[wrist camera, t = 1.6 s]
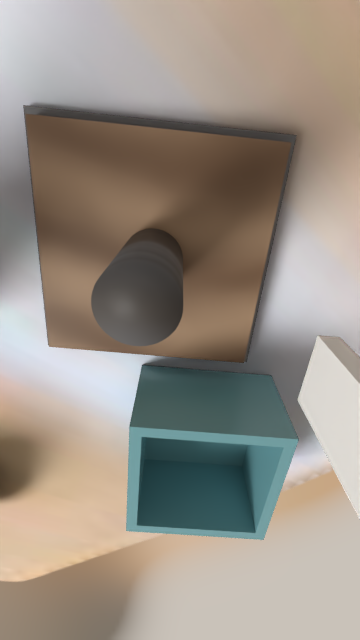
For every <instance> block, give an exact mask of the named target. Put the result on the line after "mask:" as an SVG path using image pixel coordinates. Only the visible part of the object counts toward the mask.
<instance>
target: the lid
mask: <svg viewBox="0 0 360 640" xmlns="http://www.w3.org/2000/svg"><path fill="white" fill-rule="evenodd" d="M25 115H26V125H27V135H28V144H29V154H30V164H31V174H32V184H33V193H34V203H35V213H36V223H37V233H38V242H39V252H40V262H41V272H42V281H43V291H44V301H45V311H46V321H47V330H48V340H49V347H59V348H71V349H83V350H95V351H107V352H119V353H131V354H143V355H155V356H167V357H179V358H191V359H203V360H215V361H227V362H239V363H244V359H245V355H246V350H247V346H248V341H249V336H250V332H251V327H252V323H253V318H254V313H255V309H256V304H257V299H258V295H259V290H260V286H261V281H262V276H263V272H264V267H265V263H266V258H267V253H268V249H269V244H270V240H271V235H272V230H273V226H274V221H275V216H276V212H277V207H278V203H279V198H280V193H281V189H282V184H283V180H284V175H285V170H286V166H287V161H288V157H289V152H290V147H291V142H281V141H272V140H263V139H254V138H245V137H235V136H226V135H217V134H208V133H198V132H189V131H180V130H171V129H162V128H152V127H143V126H134V125H125V124H116V123H106V122H97V121H88V120H79V119H69V118H60V117H51V116H42V115H33V114H25Z"/></svg>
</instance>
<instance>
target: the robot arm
mask: <svg viewBox="0 0 360 640" xmlns="http://www.w3.org/2000/svg"><path fill="white" fill-rule="evenodd" d="M298 402H299V404H300V406H301V408H302V410H303V412H304V414H305V416H306V417H307V419H308V421H309V423H310V425H311V427H312V429H313V431H314V433H315V435H316V437H317V439H318V441H319V442H320V444H321V446H322V448H323V450H324V452H325V454H326V456H327V458H328V460H329V462H330V464H331V465H332V467H333V469H334V471H335V473H336V475H337V477H338V479H339V481H340V483H341V485H342V487H343V489H344V490H345V492H346V494H347V496H348V498H349V500H350V502H351V504H352V506H353V507H354V510H355V511H356V513H357V515H358V517H359V519H360V357H359V356H358V355H357V354H356V353H355V352H354V351H353V350H352V349H351V348H350V347H349V346H348V345H347V344H346V343H345V342H344V341H343V340H342V339H341V338H340V337H331V336H320V335H318V336H317V339H316V343H315V346H314V349H313V352H312V355H311V358H310V362H309V365H308V368H307V371H306V374H305V378H304V381H303V384H302V387H301V390H300V393H299V397H298Z"/></svg>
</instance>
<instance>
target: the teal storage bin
mask: <svg viewBox="0 0 360 640" xmlns="http://www.w3.org/2000/svg"><path fill="white" fill-rule="evenodd" d="M298 440H299V439H298V436H297V434H296V432H295V429H294V427H293V425H292V423H291V420H290V418H289V416H288V413H287V411H286V409H285V406H284V404H283V402H282V400H281V397H280V395H279V393H278V390H277V388H276V386H275V383H274V381H273V379H272V376H270V375H258V374H246V373H234V372H222V371H209V370H197V369H185V368H173V367H161V366H148V365H142V369H141V373H140V378H139V383H138V388H137V393H136V398H135V402H134V407H133V412H132V417H131V422H130V427H129V459H128V491H127V523H126V531H134V532H150V533H165V534H181V535H182V534H183V535H198V536H213V537H229V538H244V539H260V540H263V539H264V537H265V534H266V531H267V528H268V525H269V522H270V520H271V517H272V514H273V511H274V508H275V506H276V502H277V500H278V497H279V494H280V491H281V489H282V486H283V483H284V480H285V477H286V474H287V472H288V469H289V466H290V463H291V460H292V457H293V455H294V452H295V449H296V446H297V443H298Z"/></svg>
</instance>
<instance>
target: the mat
mask: <svg viewBox="0 0 360 640" xmlns="http://www.w3.org/2000/svg"><path fill="white" fill-rule="evenodd" d="M23 106H24V116H25V126H26V135H27V125H26V115H25V114H33V115H42V116H51V117H60V118H69V119H79V120H88V121H97V122H106V123H116V124H125V125H134V126H143V127H152V128H162V129H171V130H180V131H189V132H198V133H208V134H217V135H226V136H235V137H245V138H254V139H263V140H272V141H281V142H291V147H290V152H289V157H288V161H287V166H286V170H285V175H284V180H283V184H282V189H281V193H280V198H279V203H278V207H277V212H276V216H275V221H274V226H273V230H272V235H271V240H270V244H269V249H268V253H267V258H266V263H265V267H264V272H263V276H262V281H261V286H260V290H259V295H258V299H257V304H256V309H255V313H254V318H253V323H252V327H251V332H250V336H249V341H248V346H247V350H246V355H245V359H244V362H247V357H248V353H249V348H250V344H251V339H252V335H253V330H254V326H255V321H256V316H257V312H258V307H259V303H260V298H261V294H262V289H263V285H264V280H265V276H266V271H267V267H268V262H269V258H270V253H271V249H272V244H273V240H274V235H275V231H276V226H277V221H278V217H279V212H280V208H281V203H282V199H283V194H284V190H285V185H286V181H287V176H288V172H289V167H290V163H291V158H292V154H293V149H294V145H295V140H296V136H297V135H290V134H281V133H271V132H262V131H253V130H244V129H235V128H226V127H217V126H207V125H198V124H189V123H180V122H171V121H162V120H153V119H144V118H134V117H125V116H116V115H107V114H98V113H89V112H80V111H70V110H61V109H52V108H43V107H34V106H25V105H23ZM27 145H28V155H29V164H30V154H29V144H28V135H27ZM30 174H31V164H30ZM31 184H32V174H31ZM32 193H33V184H32ZM33 203H34V193H33ZM34 213H35V203H34ZM35 222H36V213H35ZM36 232H37V223H36ZM37 242H38V233H37ZM38 251H39V242H38ZM39 261H40V252H39ZM40 271H41V262H40ZM41 280H42V272H41ZM42 290H43V281H42ZM43 299H44V291H43ZM44 309H45V301H44ZM45 319H46V311H45ZM46 328H47V321H46ZM47 338H48V330H47ZM48 345H49V340H48Z"/></svg>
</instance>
